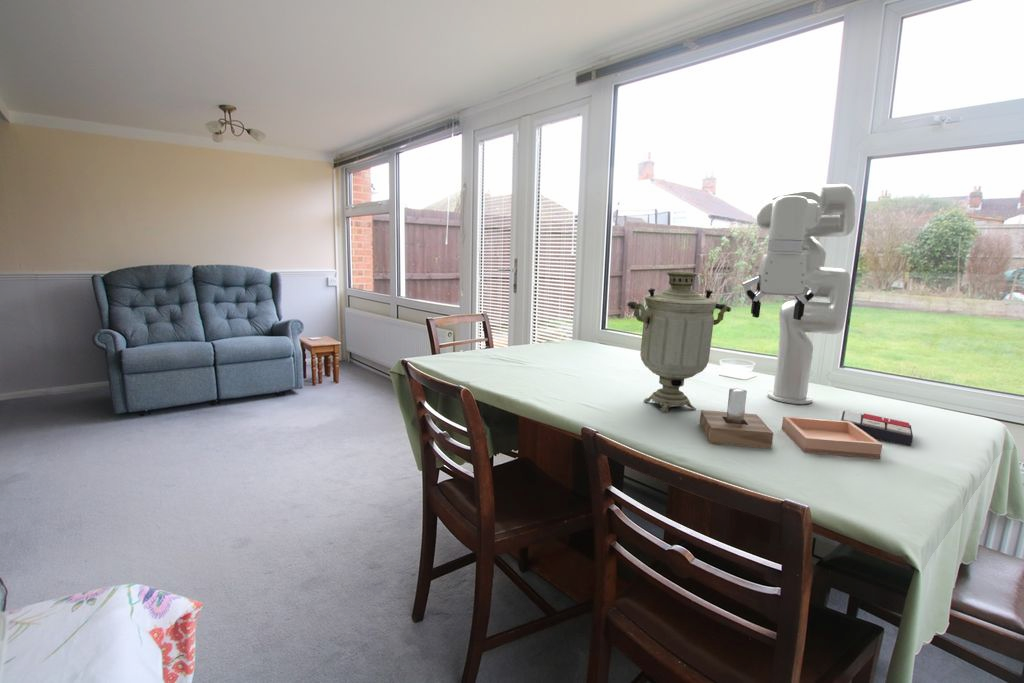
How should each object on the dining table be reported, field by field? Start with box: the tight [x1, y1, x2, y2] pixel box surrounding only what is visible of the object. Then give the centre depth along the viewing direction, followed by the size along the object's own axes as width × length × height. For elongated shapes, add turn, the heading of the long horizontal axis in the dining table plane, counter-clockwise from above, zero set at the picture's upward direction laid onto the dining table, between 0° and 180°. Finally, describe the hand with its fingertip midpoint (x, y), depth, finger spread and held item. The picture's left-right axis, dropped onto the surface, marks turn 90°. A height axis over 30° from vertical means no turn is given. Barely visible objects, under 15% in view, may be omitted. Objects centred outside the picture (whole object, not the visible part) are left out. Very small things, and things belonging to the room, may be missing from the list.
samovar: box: [627, 271, 732, 414], centre depth 150 cm, size 30×26×40 cm
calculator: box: [840, 409, 914, 447], centre depth 131 cm, size 11×4×15 cm
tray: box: [781, 415, 883, 460], centre depth 124 cm, size 16×16×4 cm
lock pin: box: [726, 387, 748, 424], centre depth 126 cm, size 4×4×12 cm
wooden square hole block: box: [699, 409, 774, 450], centre depth 127 cm, size 14×14×4 cm
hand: (776, 318), depth 125 cm, fingers open, 9 cm apart
